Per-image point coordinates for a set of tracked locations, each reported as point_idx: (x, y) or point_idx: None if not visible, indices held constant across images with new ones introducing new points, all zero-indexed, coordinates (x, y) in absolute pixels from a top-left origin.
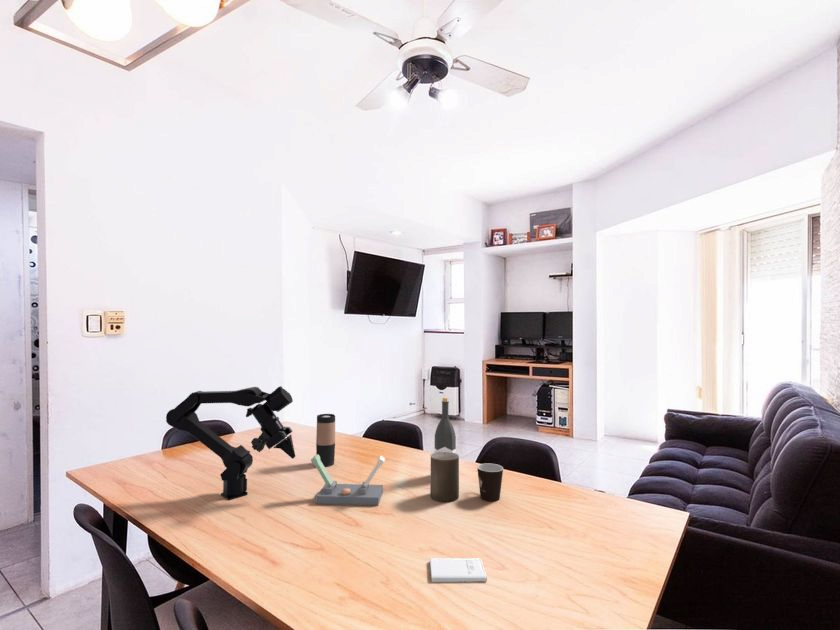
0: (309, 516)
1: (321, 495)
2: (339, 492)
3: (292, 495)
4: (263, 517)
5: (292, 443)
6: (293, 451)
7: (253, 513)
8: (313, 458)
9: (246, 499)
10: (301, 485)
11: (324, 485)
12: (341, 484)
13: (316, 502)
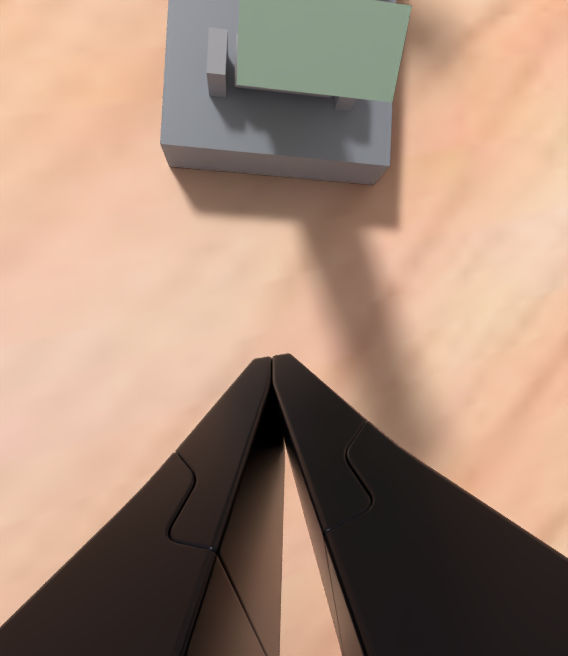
0: (523, 189)
1: (380, 134)
2: None
3: (248, 360)
4: (541, 423)
5: (204, 489)
6: (324, 384)
7: (498, 496)
8: (401, 45)
9: (316, 626)
10: (68, 351)
11: (200, 144)
12: (179, 24)
13: (375, 180)
